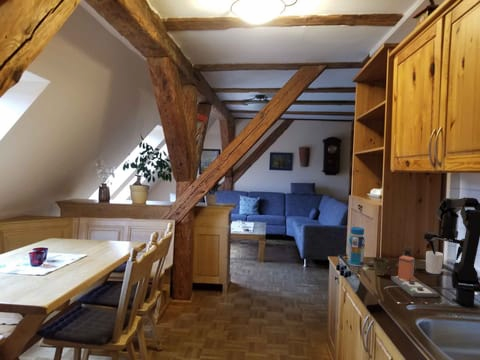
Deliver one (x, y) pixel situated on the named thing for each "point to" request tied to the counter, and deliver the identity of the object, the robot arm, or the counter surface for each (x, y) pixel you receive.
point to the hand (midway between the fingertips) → (445, 257)
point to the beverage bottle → (356, 247)
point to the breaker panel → (415, 287)
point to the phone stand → (409, 256)
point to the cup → (380, 266)
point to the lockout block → (406, 268)
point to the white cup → (434, 262)
